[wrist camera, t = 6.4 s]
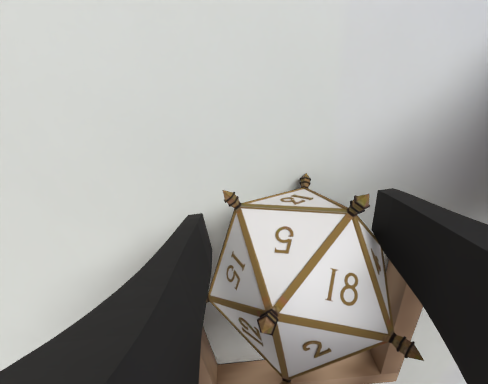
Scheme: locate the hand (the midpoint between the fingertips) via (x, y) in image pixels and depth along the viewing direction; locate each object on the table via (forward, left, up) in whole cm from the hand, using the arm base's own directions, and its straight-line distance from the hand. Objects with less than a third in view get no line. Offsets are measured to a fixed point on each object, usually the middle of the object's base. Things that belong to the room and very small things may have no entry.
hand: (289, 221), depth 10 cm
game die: (0, +2, -4) cm, 4 cm away
